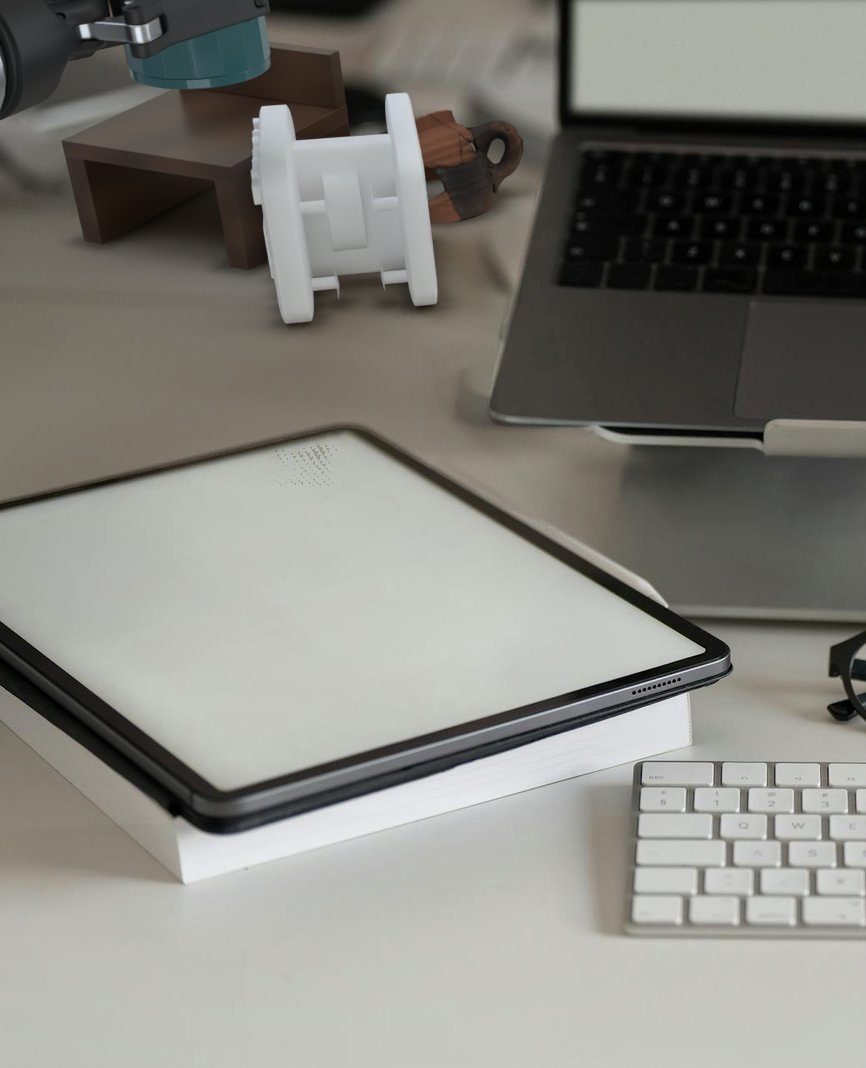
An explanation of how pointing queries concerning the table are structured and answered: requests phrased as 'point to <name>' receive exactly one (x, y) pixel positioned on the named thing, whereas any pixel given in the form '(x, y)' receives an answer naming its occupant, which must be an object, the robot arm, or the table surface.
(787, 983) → the table surface
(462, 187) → the pottery mug
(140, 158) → the desk shelf
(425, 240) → the cable organizer
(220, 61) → the teal cup
